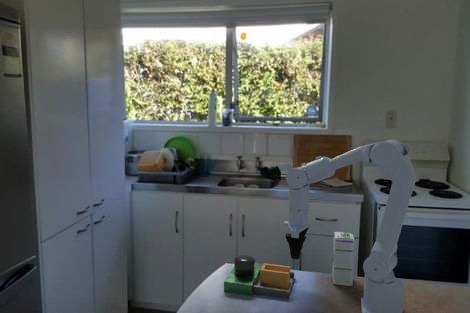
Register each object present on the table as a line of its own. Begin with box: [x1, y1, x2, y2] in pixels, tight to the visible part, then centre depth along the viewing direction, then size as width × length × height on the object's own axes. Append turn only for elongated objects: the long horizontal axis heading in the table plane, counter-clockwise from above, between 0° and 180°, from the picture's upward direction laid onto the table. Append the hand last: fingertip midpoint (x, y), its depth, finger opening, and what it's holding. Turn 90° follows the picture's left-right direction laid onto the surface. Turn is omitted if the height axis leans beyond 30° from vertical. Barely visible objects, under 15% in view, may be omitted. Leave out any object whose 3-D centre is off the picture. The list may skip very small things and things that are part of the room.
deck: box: [223, 255, 295, 300], centre depth 112 cm, size 18×15×7 cm
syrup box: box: [331, 231, 355, 287], centre depth 114 cm, size 6×6×14 cm
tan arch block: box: [260, 262, 291, 289], centre depth 111 cm, size 8×5×4 cm, turn 74°
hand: (296, 253), depth 111 cm, fingers open, 7 cm apart
